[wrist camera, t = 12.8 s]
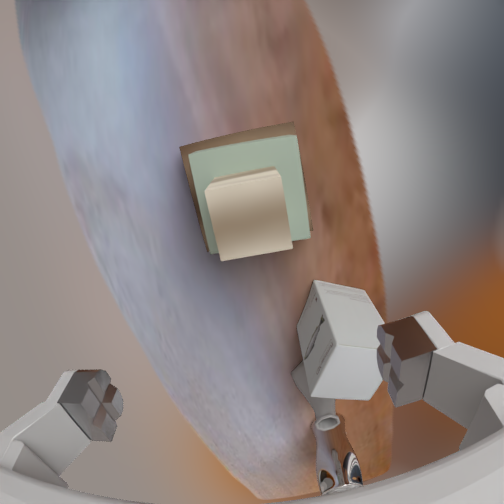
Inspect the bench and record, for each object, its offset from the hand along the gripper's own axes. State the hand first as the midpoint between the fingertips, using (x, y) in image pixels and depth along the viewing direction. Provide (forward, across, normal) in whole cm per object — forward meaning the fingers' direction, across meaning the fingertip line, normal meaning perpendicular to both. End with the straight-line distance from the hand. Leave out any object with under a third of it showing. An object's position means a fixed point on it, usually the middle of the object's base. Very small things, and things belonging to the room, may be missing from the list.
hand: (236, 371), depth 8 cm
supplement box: (+27, -7, +17) cm, 33 cm away
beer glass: (+27, -5, +42) cm, 50 cm away
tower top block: (+24, -1, 0) cm, 24 cm away
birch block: (+20, 0, 0) cm, 20 cm away
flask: (+27, -4, +28) cm, 39 cm away
